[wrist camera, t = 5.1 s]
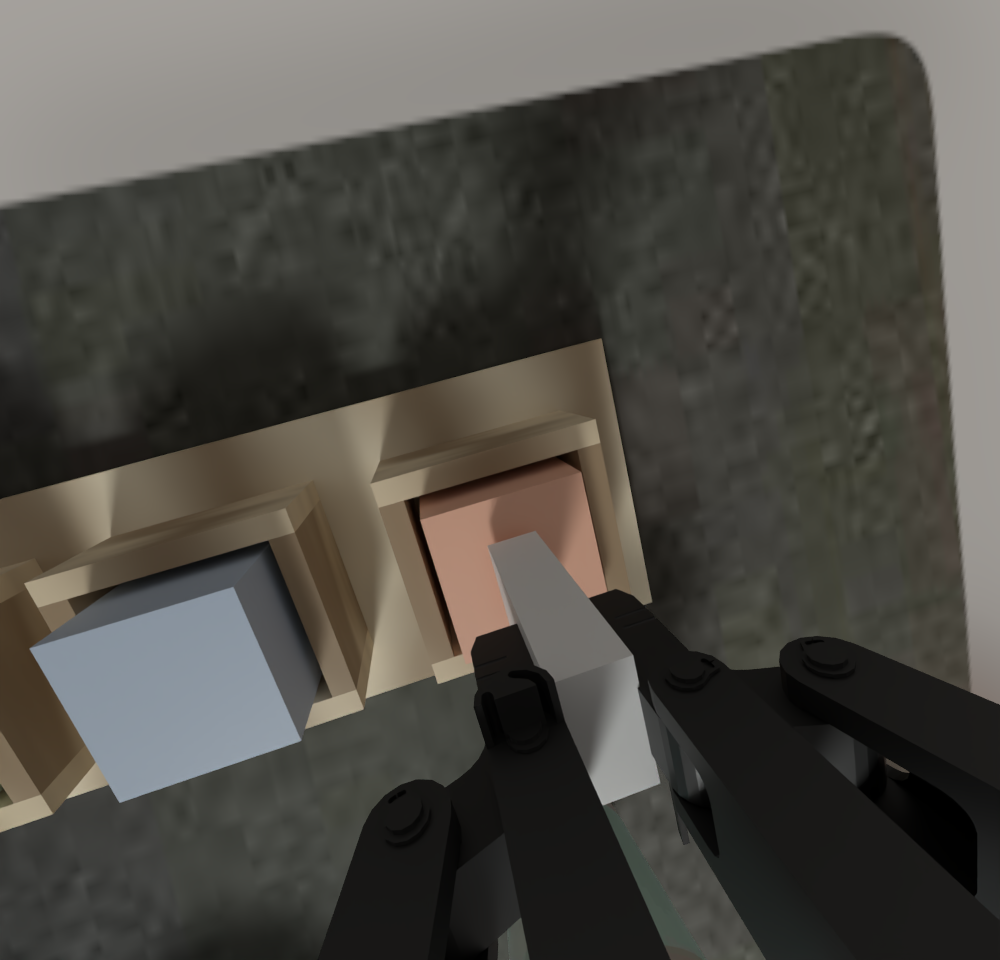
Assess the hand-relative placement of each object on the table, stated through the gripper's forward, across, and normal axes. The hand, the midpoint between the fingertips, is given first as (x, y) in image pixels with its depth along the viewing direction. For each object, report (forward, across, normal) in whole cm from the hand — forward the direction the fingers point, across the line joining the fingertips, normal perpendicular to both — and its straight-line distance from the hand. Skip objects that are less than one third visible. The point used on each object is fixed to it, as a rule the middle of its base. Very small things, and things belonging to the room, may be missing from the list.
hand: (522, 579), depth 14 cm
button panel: (+7, -10, 0) cm, 12 cm away
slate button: (+4, -10, 0) cm, 11 cm away
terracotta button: (+5, 0, 0) cm, 5 cm away
